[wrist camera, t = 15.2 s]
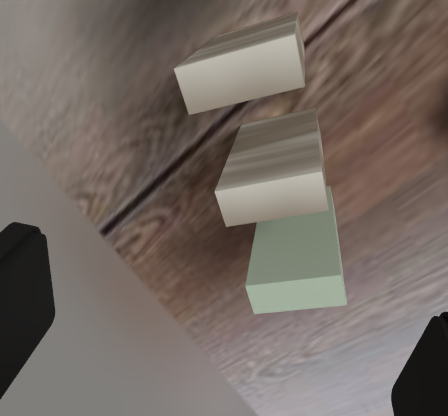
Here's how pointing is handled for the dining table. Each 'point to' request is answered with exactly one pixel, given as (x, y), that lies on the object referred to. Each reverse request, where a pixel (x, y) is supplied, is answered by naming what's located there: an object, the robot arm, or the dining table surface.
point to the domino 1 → (244, 65)
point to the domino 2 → (274, 170)
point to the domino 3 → (296, 263)
